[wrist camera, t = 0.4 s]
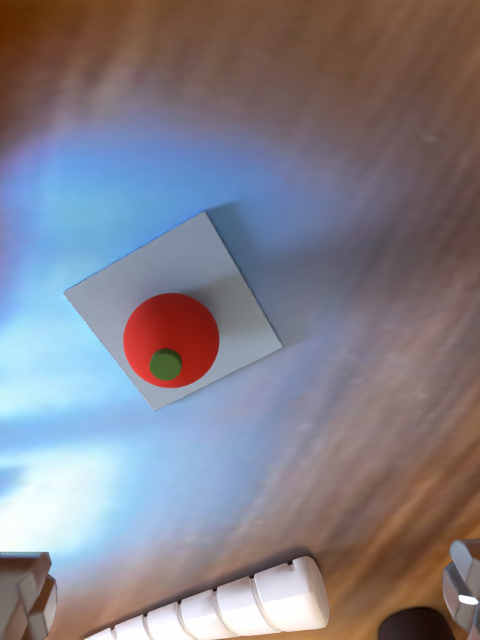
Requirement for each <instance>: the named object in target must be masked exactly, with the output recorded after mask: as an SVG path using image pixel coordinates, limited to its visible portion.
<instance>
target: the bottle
mask: <svg viewBox="0 0 480 640" xmlns="http://www.w3.org/2000/svg"><path fill="white" fill-rule="evenodd" d="M378 640H455V637H454V635H453V633H452V631H451V629H450V627H449V624H448V623H447V621H446V620H445V619H444V618H443V617H442V615H440V614H438V613H436V612H434V611H432V610H426V609H411V610H406V611H402V612H400V613H398V614H395V615H393V616H392V617H390V618H389V619H388V620H386V621H385V622H384V624H383V625H382V627H381V628H380V630H379V634H378Z"/></svg>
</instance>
